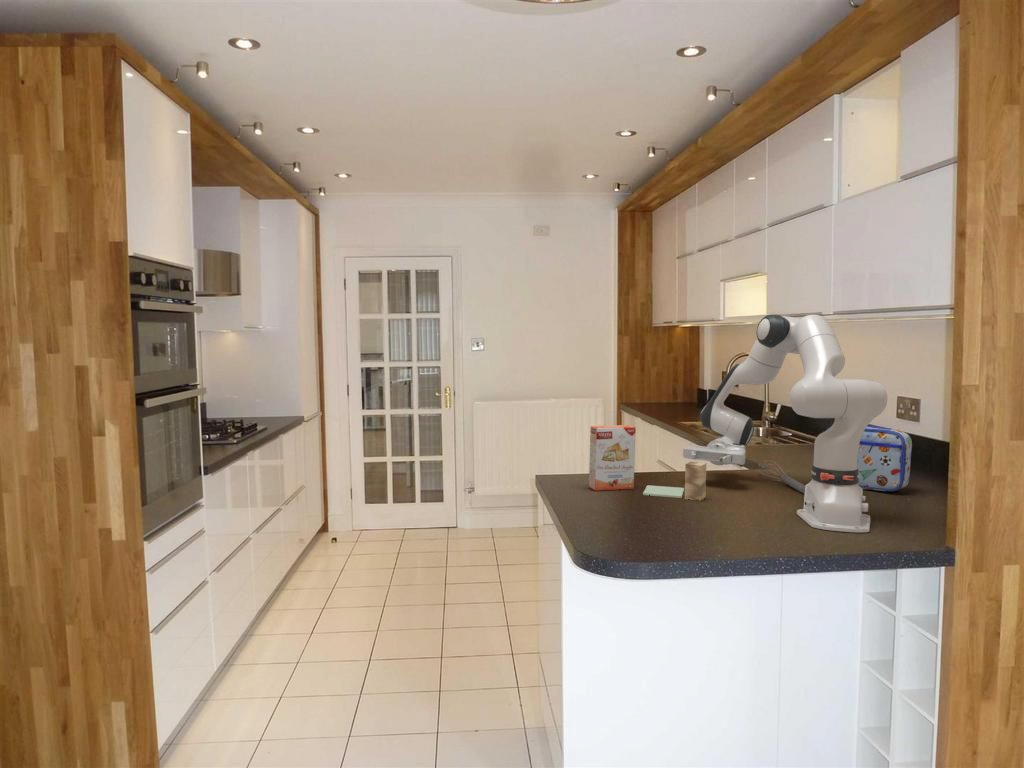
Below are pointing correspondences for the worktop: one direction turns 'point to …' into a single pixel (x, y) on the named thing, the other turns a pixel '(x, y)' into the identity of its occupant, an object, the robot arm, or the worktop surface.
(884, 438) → the lunch box
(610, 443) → the cracker box
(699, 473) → the oak pillar
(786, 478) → the kitchen whisk
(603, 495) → the worktop surface
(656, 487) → the mat
